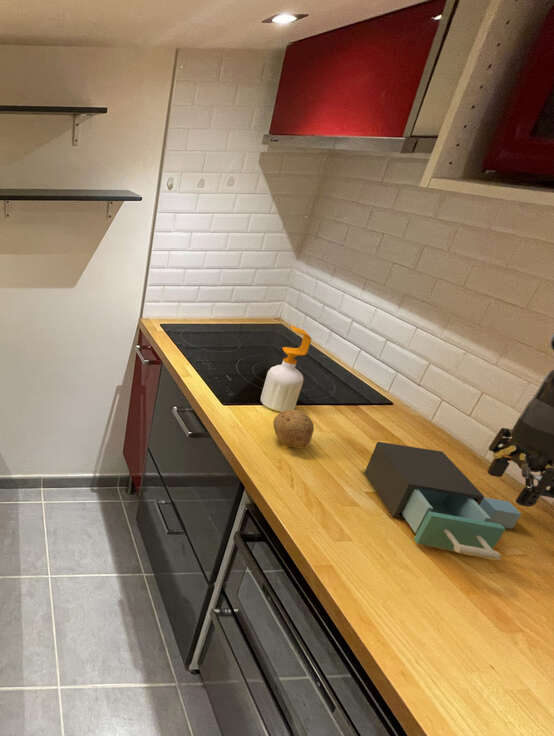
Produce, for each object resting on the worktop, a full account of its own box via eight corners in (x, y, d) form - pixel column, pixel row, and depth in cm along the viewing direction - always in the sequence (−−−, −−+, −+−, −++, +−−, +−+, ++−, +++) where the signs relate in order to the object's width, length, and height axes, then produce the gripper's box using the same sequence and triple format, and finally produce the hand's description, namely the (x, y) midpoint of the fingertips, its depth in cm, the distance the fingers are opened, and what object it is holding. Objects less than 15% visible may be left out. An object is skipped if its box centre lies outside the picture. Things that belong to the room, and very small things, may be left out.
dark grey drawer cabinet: (464, 530, 90) (484, 496, 86) (392, 517, 93) (409, 483, 89) (426, 483, 103) (442, 451, 99) (364, 472, 105) (377, 441, 102)
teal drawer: (506, 580, 79) (526, 551, 76) (431, 565, 82) (447, 536, 79) (446, 506, 95) (461, 480, 92) (385, 496, 97) (397, 469, 94)
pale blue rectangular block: (500, 515, 94) (509, 501, 92) (512, 528, 91) (521, 514, 89) (475, 511, 95) (483, 497, 93) (486, 524, 92) (495, 509, 90)
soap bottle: (256, 394, 137) (276, 320, 127) (288, 398, 135) (311, 323, 125) (264, 410, 129) (287, 333, 119) (298, 414, 127) (324, 336, 117)
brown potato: (274, 429, 121) (284, 397, 117) (311, 443, 115) (323, 411, 111) (263, 444, 115) (273, 411, 111) (302, 460, 109) (314, 426, 105)
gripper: (499, 400, 91) (464, 463, 97) (553, 442, 78) (509, 511, 85) (545, 406, 89) (506, 470, 96) (608, 451, 76) (558, 520, 83)
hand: (507, 489), depth 90 cm, fingers open, 8 cm apart
